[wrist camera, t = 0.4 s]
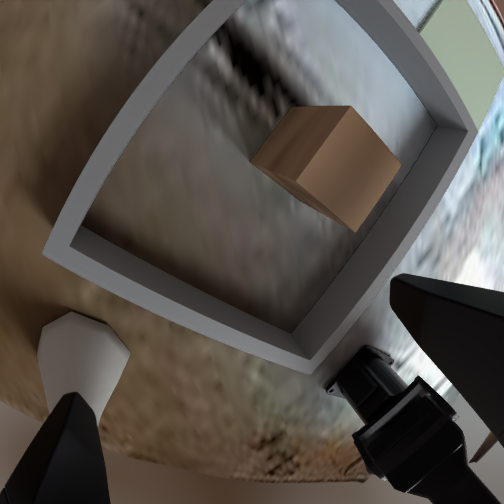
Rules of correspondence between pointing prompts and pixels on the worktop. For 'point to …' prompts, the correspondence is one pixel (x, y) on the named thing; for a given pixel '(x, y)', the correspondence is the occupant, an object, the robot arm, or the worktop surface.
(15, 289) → the worktop surface
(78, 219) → the grey rimmed tray
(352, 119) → the walnut block
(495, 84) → the mat
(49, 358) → the flask
